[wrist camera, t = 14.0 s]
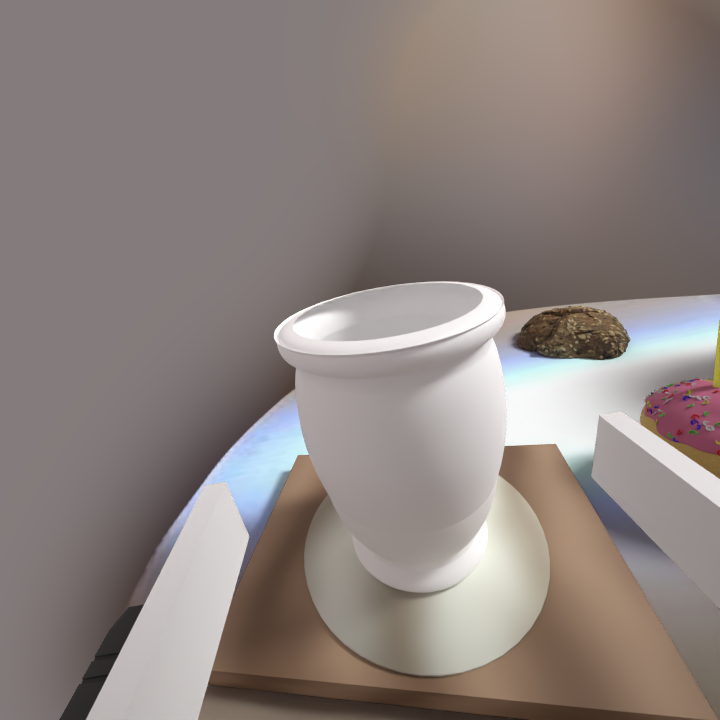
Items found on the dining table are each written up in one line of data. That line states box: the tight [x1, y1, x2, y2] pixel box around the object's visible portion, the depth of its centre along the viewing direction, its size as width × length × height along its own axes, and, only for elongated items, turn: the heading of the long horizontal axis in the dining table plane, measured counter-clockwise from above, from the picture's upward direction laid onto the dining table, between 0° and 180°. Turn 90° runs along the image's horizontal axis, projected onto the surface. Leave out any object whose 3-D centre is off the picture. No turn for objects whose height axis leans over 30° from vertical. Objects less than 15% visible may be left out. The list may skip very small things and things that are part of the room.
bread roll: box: [517, 306, 630, 360], centre depth 46 cm, size 13×12×5 cm
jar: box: [274, 282, 507, 593], centre depth 19 cm, size 11×10×15 cm
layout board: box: [208, 444, 718, 720], centre depth 22 cm, size 22×16×2 cm
